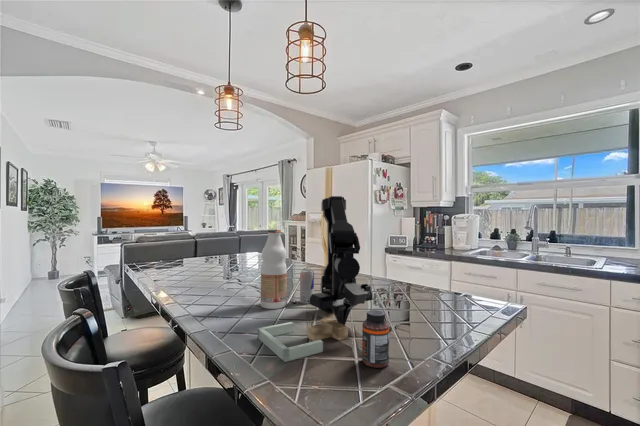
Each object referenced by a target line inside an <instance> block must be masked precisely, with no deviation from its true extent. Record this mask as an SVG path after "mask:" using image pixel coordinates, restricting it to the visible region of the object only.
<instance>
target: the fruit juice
mask: <svg viewBox="0 0 640 426" xmlns="http://www.w3.org/2000/svg"><path fill="white" fill-rule="evenodd" d="M267 235H268V237H267V239H266V242H265V245H264V247H263V248H262V251H261V258H262V263H261V268H260V307H262V308H263V309H267V310H277V309H282V308H284V307H286V305H287V281H288V279H287V277H288V274H287V273H288V268H287V264H286V259H287V254H288V253H287V250H286V248H285V246H284V243H283V239H282V237H281V235H282V229H268V230H267Z"/></svg>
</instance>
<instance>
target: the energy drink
mask: <svg viewBox="0 0 640 426" xmlns="http://www.w3.org/2000/svg"><path fill="white" fill-rule="evenodd" d="M299 274H300V275H299V302H300V304H304V305H311V304H310V297H311V295H312V294H315V293H314V292H315V272H314V270H311V269H303V270H300V273H299Z"/></svg>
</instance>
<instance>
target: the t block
mask: <svg viewBox="0 0 640 426" xmlns="http://www.w3.org/2000/svg"><path fill="white" fill-rule="evenodd" d="M307 338H308V339H309V340H311V342H313V341H317V340H321V341H322V340H326V339H328V338H333V339H335V340H337V341H343V340H347V339H349V327H348V326H346V324H345V325H343V324H340V323H338V322H337V320H334V319H332V318H330V317H328V318H321V319H320V323H318V324H313V325H309V326H307Z"/></svg>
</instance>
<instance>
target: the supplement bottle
mask: <svg viewBox="0 0 640 426" xmlns="http://www.w3.org/2000/svg"><path fill="white" fill-rule="evenodd" d="M385 315H386V313H385V312H384V311H382V310H380V309H379V310H377V309H369V310H368V311H366V319H365V320H364V321H362V326H361V327H362V329H361V331H362V339H361V341H362V343H361V359H362V363H364V365H366V366H367V367H370V368H372V369H373V368H375V369H381V368H385V367H387V366H388V365H389V363H390V362H389V361H390V326H389V323H388V322H387V321H386V320H385V319H386V316H385Z"/></svg>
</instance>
